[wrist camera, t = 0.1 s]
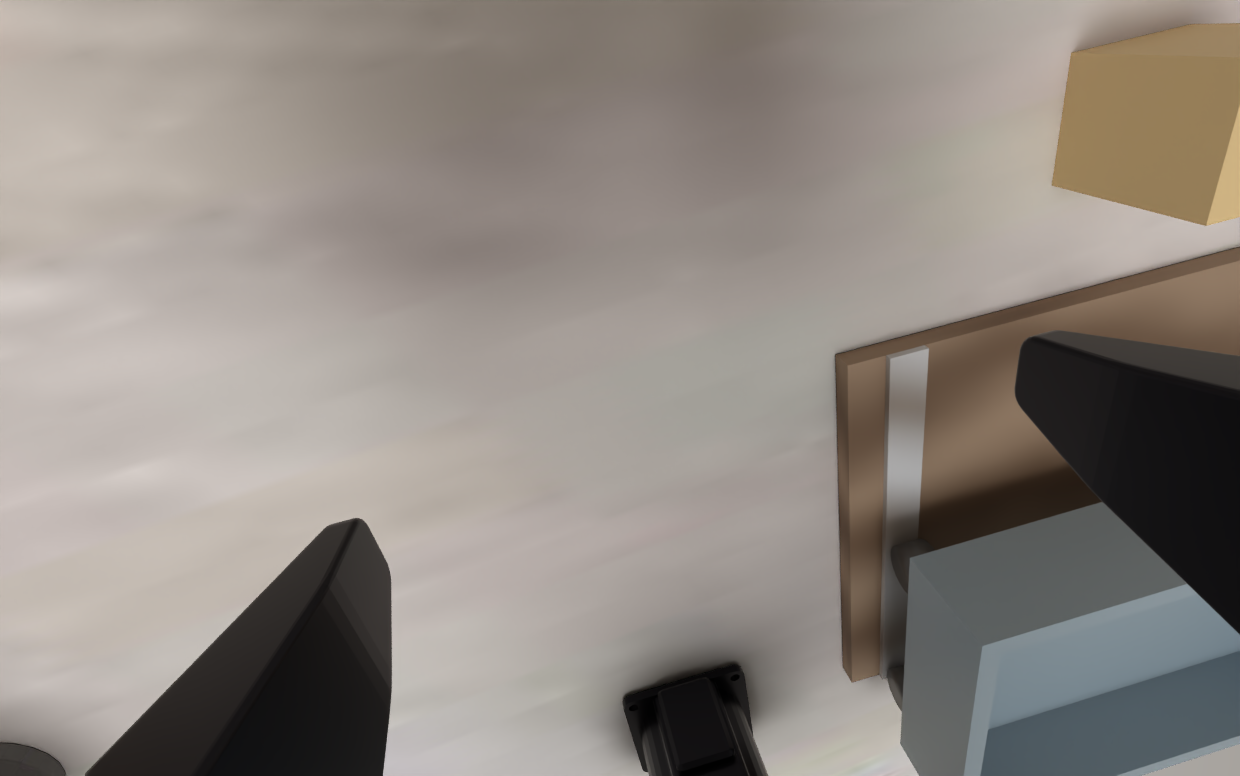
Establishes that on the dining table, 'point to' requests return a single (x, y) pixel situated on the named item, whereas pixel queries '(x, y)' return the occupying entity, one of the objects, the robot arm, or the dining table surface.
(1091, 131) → the ochre block
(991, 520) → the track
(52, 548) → the dining table surface
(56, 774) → the beverage cup
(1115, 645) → the box
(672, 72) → the dining table surface
